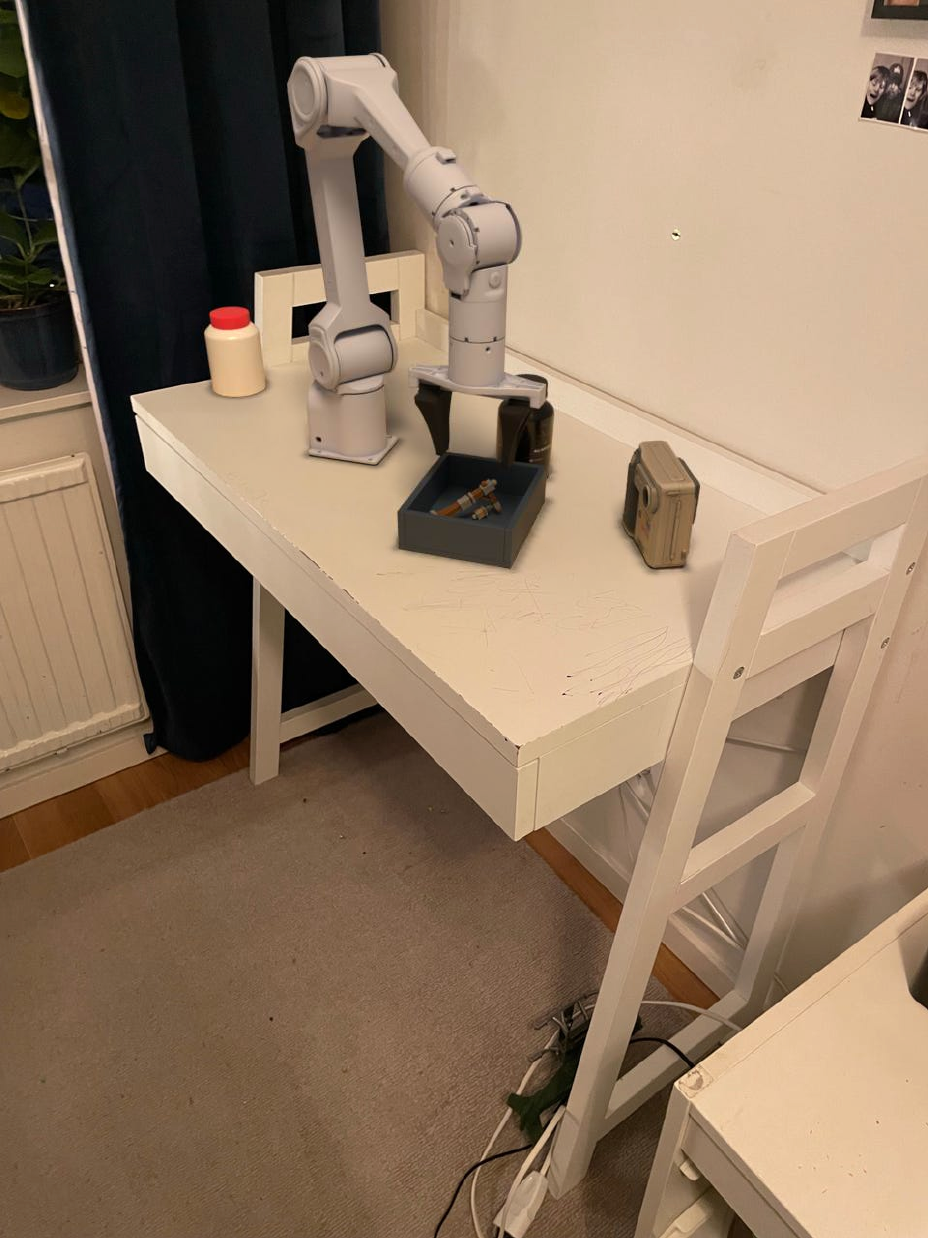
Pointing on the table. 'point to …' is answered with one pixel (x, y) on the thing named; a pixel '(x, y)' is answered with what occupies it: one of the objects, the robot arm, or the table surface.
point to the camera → (660, 504)
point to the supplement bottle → (532, 431)
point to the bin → (472, 509)
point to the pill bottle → (234, 353)
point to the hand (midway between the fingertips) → (474, 458)
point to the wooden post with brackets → (466, 501)
